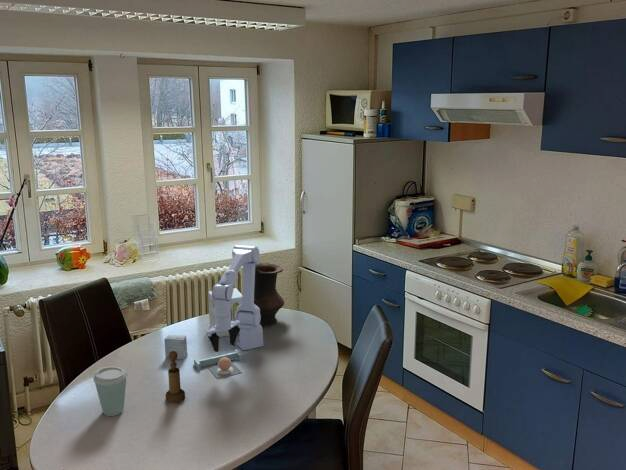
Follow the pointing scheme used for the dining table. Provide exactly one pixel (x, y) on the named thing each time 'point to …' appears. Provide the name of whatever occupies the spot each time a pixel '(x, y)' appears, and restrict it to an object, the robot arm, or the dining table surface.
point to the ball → (224, 363)
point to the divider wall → (216, 359)
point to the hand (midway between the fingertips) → (224, 348)
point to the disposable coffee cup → (111, 389)
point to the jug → (267, 292)
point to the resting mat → (221, 373)
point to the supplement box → (234, 303)
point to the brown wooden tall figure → (174, 382)
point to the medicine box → (176, 345)
